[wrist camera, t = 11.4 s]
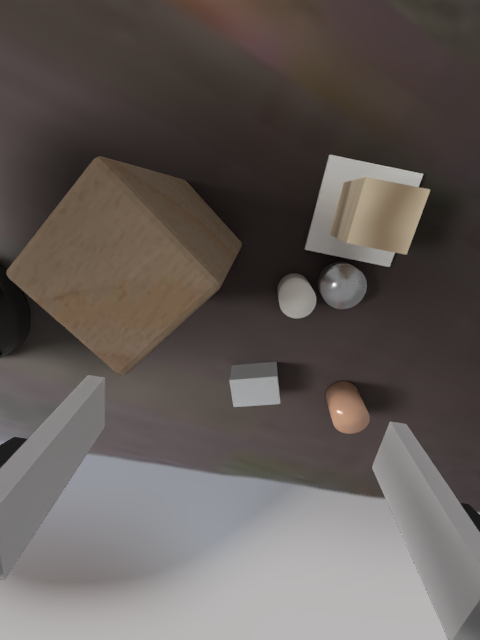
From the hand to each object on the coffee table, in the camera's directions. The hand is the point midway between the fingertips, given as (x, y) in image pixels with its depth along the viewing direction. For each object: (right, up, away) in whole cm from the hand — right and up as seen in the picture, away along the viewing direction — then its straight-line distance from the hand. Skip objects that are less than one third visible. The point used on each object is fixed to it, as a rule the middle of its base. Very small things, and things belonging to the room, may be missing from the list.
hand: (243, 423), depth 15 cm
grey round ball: (+12, +9, +24) cm, 28 cm away
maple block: (+13, +16, +20) cm, 29 cm away
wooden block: (-7, +14, +24) cm, 28 cm away
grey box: (+2, -3, +29) cm, 29 cm away
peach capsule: (+14, -5, +29) cm, 33 cm away
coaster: (+13, +17, +21) cm, 30 cm away
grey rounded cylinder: (+6, +9, +25) cm, 27 cm away
